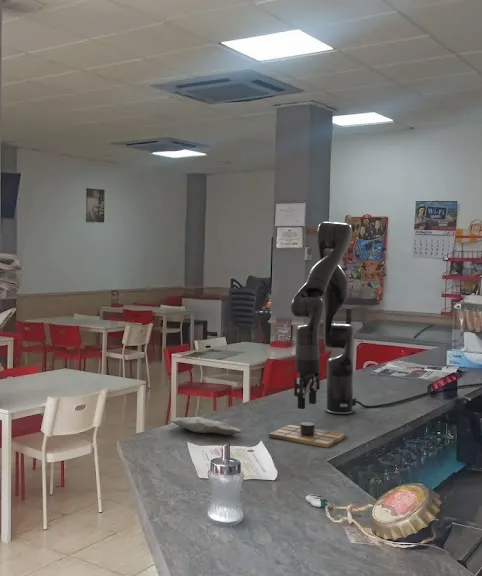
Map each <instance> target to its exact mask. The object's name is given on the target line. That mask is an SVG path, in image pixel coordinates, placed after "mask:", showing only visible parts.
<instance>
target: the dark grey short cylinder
mask: <svg viewBox="0 0 482 576" xmlns="http://www.w3.org/2000/svg"><path fill="white" fill-rule="evenodd" d="M299 426H300V433H301V434H303V435H314V434H315V429H316V423H314V422H311V421H303V422H300V423H299Z"/></svg>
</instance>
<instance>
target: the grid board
mask: <svg viewBox="0 0 482 576" xmlns="http://www.w3.org/2000/svg"><path fill="white" fill-rule="evenodd" d="M268 437H269V438H271V439H277V440H283V441H289V442H293V443H294V442H295V443H299V444H305V445H311V446H316V447H322V448H329V447H331V446H334V445H335V444H337V443H338V442H340V441H342V440H344V439H345V438H347V434H346V433H345V432H344V433H343V432H337V431H332V430H326V429H320V428H315V434H314V435H303V434H301V433H300V425H295V424H287V425H285V426H283V427H281V428H278V429H276V430H274V431H272V432H269V433H268Z"/></svg>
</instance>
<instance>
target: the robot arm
mask: <svg viewBox="0 0 482 576" xmlns="http://www.w3.org/2000/svg"><path fill="white" fill-rule="evenodd" d="M352 240H353V229H352V226H351V225H350V224H349V223H345V222H336V221H334V222H333V221H322V222H320V223H319V225H318V226H317V229H316V243H317V250H318V251H317V252H318V258H319V261H318V262H316V263H315V264H314V265H313V266H312V268H311V269H310V271H309V273H308V275H307V278H306V280H305V282H304V284H303V286H302V287H300V289H299V290H298V291H297V293H295V294H294V296H293V298H292V300H291V303H290V312H291V314H292V315H293V316H294V317H295V318H296V317H297V318H302V319H303V318H305V319H306V318H307V319H309V322H308V323H305V324H300V325H298V326H297V327H296V332H295V340H296V341H295V353H294V355H295V356H294V357H295V358H294V359H295V365H294V367H295V369H294V370H295V371H296V372H297V373H299V377H294V382H293V383H294V385H293V387H294V388H293V396H294V397H297V409H299V410H305V409H306V396H307V395H306V394H307V393H308V403H309V404H311V405H316V404H317V393H318V390H320V383H321V382H320V346H319V342H320V341H319V337H320V335H319V333H320V332H319V331H320V327H321V323H322V339H323V344H324V346H325V347H326V348H328V349H338V350H339V349H340V350H343V351H342V352H341V353H339V354H338V355H334V356H331V357H328V358H327V360H326V412H327V413H329V414H333V415H351V414H353V413H354V409H353V407H355V406H356V405H357V404H358V405H360V406H361V407H363V408H366V409H369V408H380V407H387V406H391V405H392V406H393V405H396V404H400V403H403V402H406V401H409V400H413V399H416V398H419V397H423V396H427V395H429V393H428V392H429V391H426V392H423V393H420V394H417V395H413V396H410V397H408V398H404V399H400V400H396V401H392V402H388V403H381V404H375V405H366V404H363V403H362V402H360V401H358V400H357V397H353V396H354V394H353V391H354V389H353V388H354V375H353V374H354V341H355V330H354V326H353V325H352V324H351V323H350V324H349V323H333V321H334V319H335V317H336V315H337V313H338V312H339V311H340V309H341V308H342V307H343V306H344V304H345V303H346V301H347V300H348V297H349V279H348V276H347V275H346V273H345V271H344V270H343V269H342V267H341V266H340V265H339V264H340V263H341V261H342V259H343V258H344V256H345V254H346V253H347V251H348V249H349V247H350V245H351V243H352ZM322 319H323V320H322ZM457 386H458V388H466V387H473V386H475V387H476V386H482V382H479V383H469V384H461V385H457ZM458 388H457V389H458Z"/></svg>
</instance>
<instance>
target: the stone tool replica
mask: <svg viewBox="0 0 482 576" xmlns="http://www.w3.org/2000/svg"><path fill="white" fill-rule="evenodd" d="M169 421H170V422H171V423H172V424H174V425H176V426H177V427H180V428H184V429H186V430H188V431H189V432H192V433H200V434H218V435H223V436H231V435H232V436H233V435H235V434H241V433H243V430H241V429H239V428H237V427H234V426H232V425H231V424H229V423H226V422H222V421H219V420H212V419H208V418H204V417H201V416H194V417H193V416H192V417H191V416H185V417H171V418H169Z"/></svg>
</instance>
